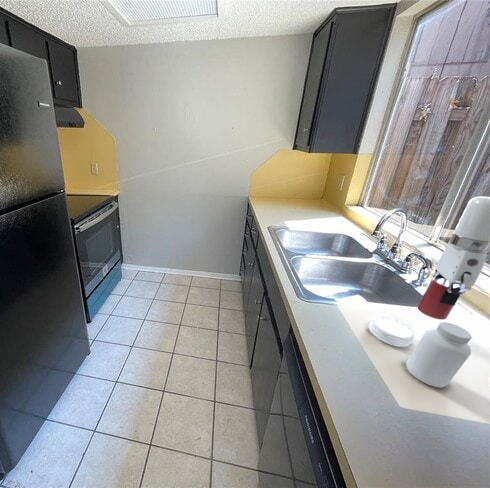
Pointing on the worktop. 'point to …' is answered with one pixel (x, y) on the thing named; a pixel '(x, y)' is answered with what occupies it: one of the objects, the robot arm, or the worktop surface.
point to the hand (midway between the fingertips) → (440, 296)
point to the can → (435, 299)
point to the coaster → (391, 331)
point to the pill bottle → (440, 354)
